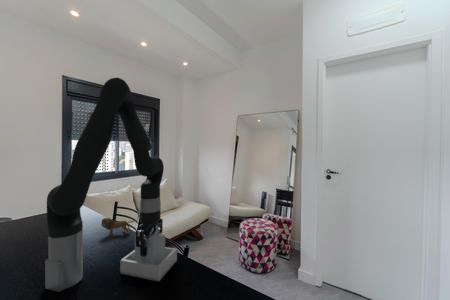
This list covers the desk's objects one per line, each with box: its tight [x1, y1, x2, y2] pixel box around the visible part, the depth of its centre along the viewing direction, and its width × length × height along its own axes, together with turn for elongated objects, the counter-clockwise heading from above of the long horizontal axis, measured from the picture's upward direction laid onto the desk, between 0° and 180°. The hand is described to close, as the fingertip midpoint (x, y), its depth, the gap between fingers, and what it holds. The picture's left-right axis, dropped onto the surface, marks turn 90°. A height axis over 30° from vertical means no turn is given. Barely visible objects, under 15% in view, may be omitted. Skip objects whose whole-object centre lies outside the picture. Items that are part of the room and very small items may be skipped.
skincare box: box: [134, 232, 166, 265], centre depth 79 cm, size 10×6×10 cm, turn 60°
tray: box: [119, 246, 178, 282], centre depth 79 cm, size 13×16×5 cm
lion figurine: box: [101, 217, 133, 236], centre depth 107 cm, size 15×5×9 cm, turn 111°
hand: (150, 250), depth 79 cm, fingers closed on skincare box, 7 cm apart
